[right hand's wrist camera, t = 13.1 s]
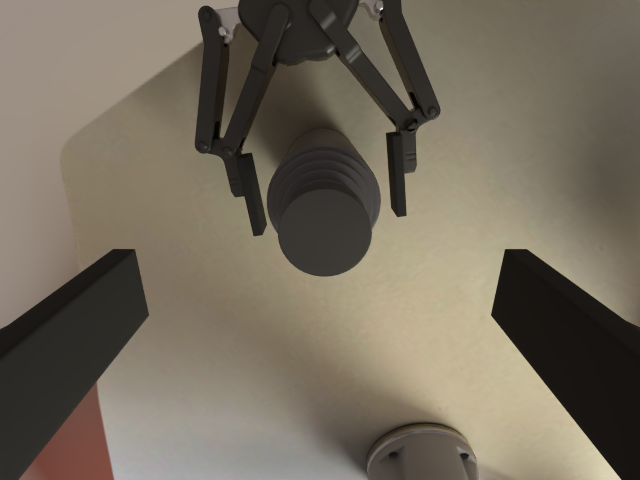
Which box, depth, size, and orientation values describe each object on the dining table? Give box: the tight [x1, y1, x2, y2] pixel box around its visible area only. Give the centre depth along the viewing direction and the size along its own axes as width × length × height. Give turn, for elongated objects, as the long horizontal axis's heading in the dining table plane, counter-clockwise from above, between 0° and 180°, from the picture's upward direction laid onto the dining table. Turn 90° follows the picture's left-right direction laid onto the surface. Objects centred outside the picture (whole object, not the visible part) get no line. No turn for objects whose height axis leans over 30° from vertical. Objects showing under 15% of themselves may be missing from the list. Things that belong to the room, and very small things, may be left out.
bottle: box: [267, 128, 381, 233], centre depth 26 cm, size 7×7×19 cm
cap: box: [278, 181, 372, 276], centre depth 17 cm, size 4×4×2 cm
